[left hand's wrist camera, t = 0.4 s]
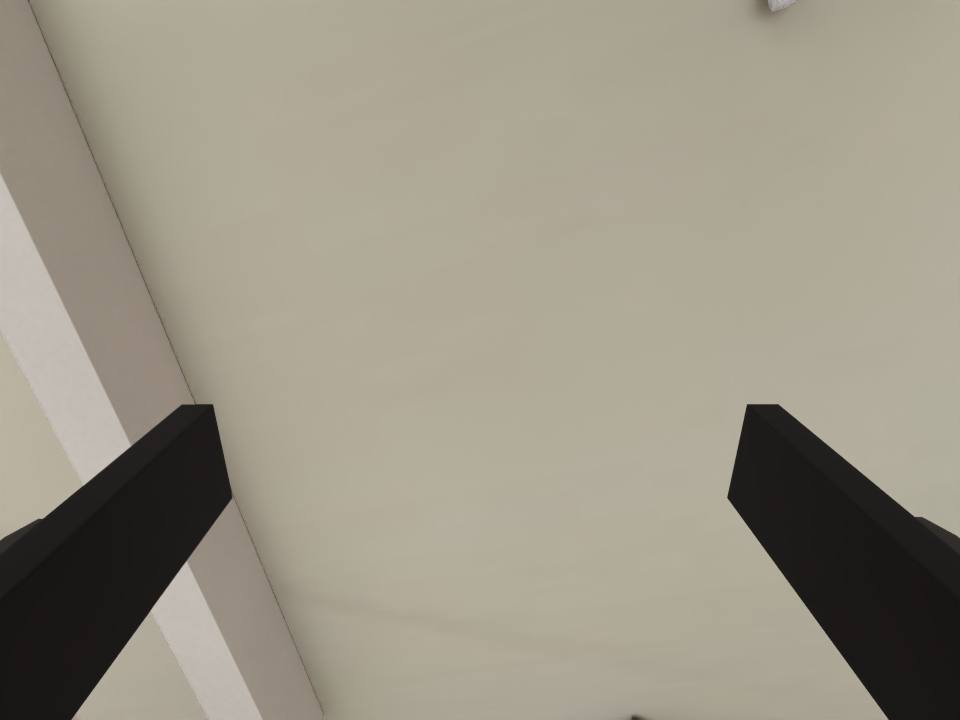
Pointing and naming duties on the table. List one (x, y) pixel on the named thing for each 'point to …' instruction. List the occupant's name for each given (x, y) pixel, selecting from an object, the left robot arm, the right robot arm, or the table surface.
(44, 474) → the table surface
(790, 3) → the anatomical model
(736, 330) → the table surface
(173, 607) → the bar
